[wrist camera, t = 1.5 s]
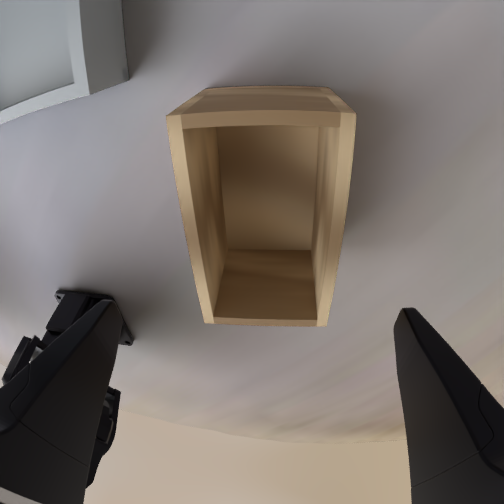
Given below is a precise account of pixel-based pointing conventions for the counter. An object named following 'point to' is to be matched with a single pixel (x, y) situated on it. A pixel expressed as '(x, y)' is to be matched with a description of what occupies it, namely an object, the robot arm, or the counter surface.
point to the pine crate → (263, 199)
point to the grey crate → (58, 52)
